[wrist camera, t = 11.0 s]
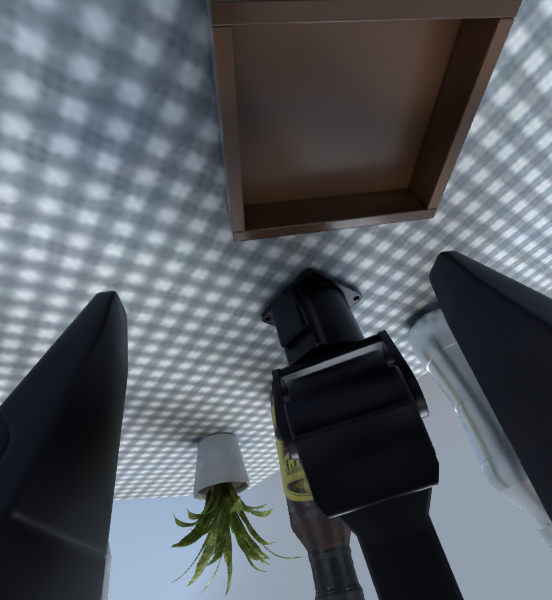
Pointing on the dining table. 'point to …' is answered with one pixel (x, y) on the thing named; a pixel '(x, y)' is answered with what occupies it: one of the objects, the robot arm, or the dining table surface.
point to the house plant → (222, 505)
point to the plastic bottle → (476, 415)
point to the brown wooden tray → (346, 106)
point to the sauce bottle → (318, 533)
